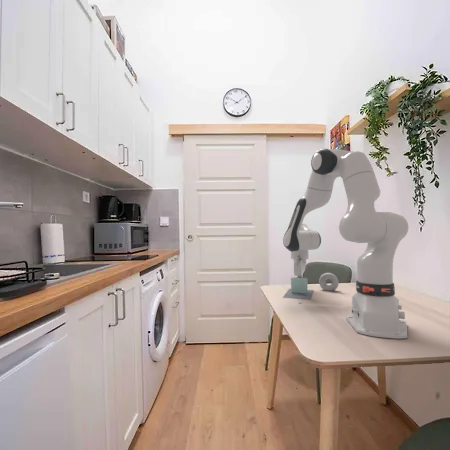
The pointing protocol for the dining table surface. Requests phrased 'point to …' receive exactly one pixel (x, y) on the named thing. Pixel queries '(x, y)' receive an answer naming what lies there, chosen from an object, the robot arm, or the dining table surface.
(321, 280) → the donut
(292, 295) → the mat
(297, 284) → the tile
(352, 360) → the dining table surface
